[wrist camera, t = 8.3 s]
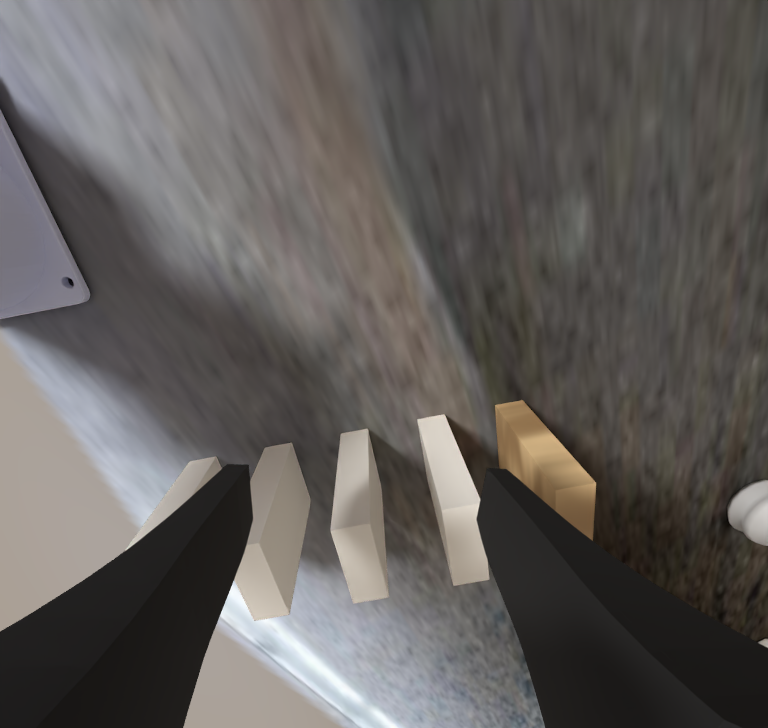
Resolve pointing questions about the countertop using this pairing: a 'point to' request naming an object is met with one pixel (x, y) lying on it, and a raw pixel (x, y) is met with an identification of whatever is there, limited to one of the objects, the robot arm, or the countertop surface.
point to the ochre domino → (544, 465)
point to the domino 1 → (180, 492)
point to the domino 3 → (359, 519)
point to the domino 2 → (274, 533)
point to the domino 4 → (453, 501)
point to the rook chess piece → (751, 511)
